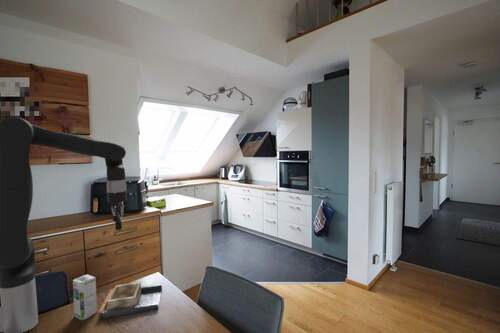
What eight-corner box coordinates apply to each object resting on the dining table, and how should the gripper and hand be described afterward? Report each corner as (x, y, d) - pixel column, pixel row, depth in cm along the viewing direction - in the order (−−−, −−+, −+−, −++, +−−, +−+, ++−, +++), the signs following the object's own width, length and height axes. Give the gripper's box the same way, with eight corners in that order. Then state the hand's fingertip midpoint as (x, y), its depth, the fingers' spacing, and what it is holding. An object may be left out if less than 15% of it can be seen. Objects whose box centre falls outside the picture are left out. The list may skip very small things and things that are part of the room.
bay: (99, 319, 94) (98, 311, 93) (111, 296, 108) (110, 289, 108) (158, 310, 99) (157, 302, 98) (162, 288, 114) (161, 282, 113)
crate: (107, 313, 96) (107, 301, 96) (116, 296, 107) (115, 285, 107) (135, 309, 98) (135, 297, 98) (141, 292, 110) (140, 282, 109)
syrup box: (73, 316, 95) (71, 280, 94) (89, 307, 101) (87, 273, 100) (82, 321, 93) (79, 283, 92) (98, 312, 98) (96, 276, 97)
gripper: (111, 188, 113) (113, 225, 114) (102, 193, 100) (104, 235, 101) (129, 187, 115) (131, 224, 116) (122, 192, 102) (124, 233, 103)
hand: (118, 229), depth 109 cm, fingers closed
